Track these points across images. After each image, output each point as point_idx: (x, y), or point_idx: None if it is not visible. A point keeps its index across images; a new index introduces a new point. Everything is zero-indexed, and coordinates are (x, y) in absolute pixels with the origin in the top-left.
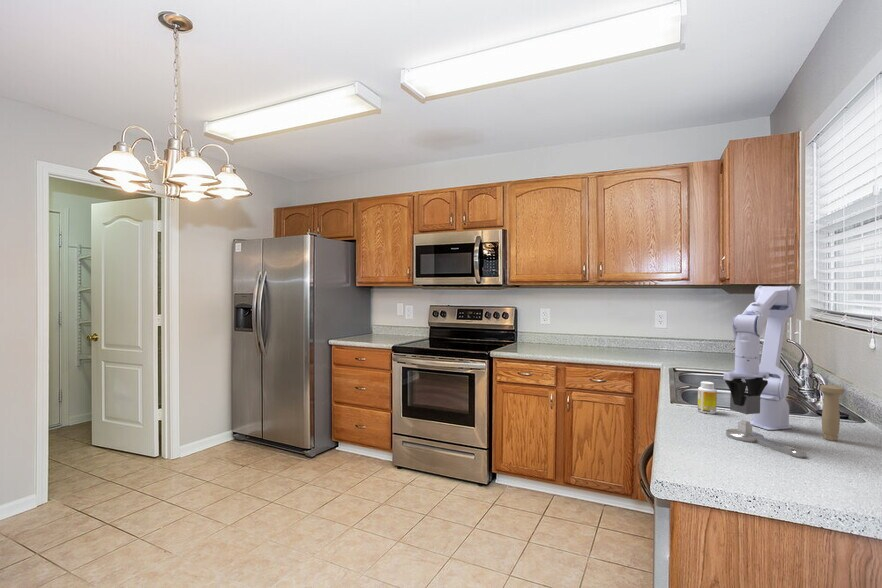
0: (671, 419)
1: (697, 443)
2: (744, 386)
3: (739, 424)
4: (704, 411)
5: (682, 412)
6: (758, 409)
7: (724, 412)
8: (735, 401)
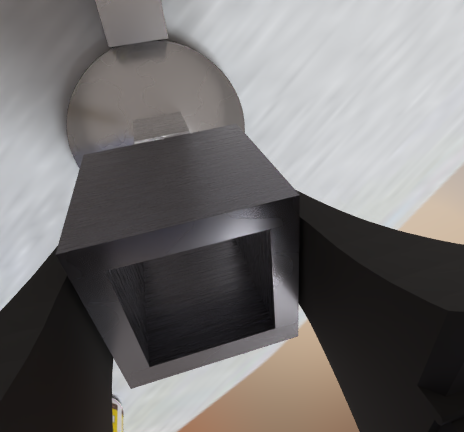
0: None
1: (445, 59)
2: (444, 269)
3: None
4: (113, 402)
5: (189, 387)
6: (100, 164)
7: None
8: None
